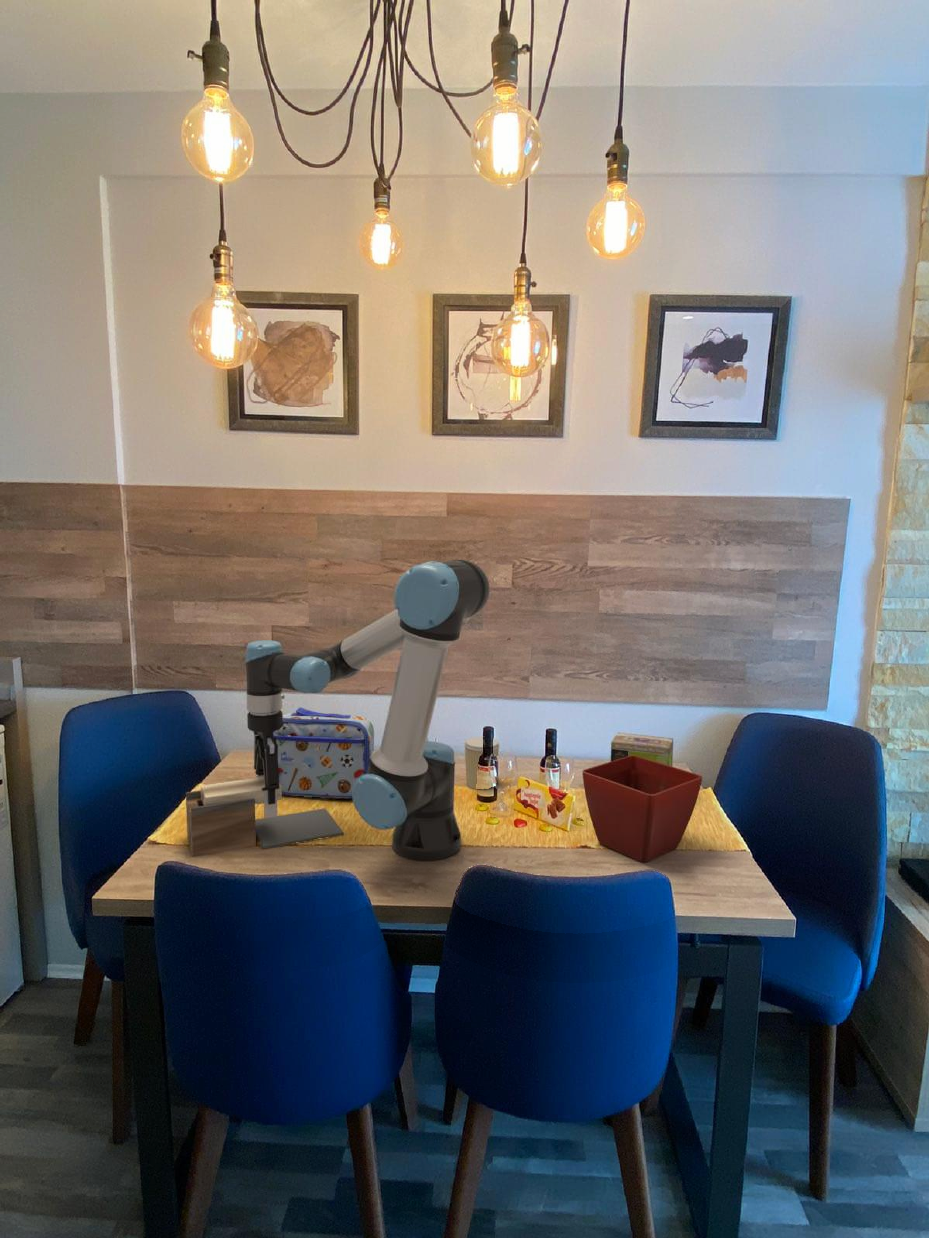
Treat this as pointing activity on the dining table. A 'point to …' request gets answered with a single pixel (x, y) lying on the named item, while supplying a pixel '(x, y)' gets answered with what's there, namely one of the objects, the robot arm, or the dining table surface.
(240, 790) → the birch lid
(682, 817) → the plant pot
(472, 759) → the coffee cup
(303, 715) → the lunch box
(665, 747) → the tea box
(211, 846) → the walnut box
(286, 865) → the dining table surface
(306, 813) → the charcoal mat
